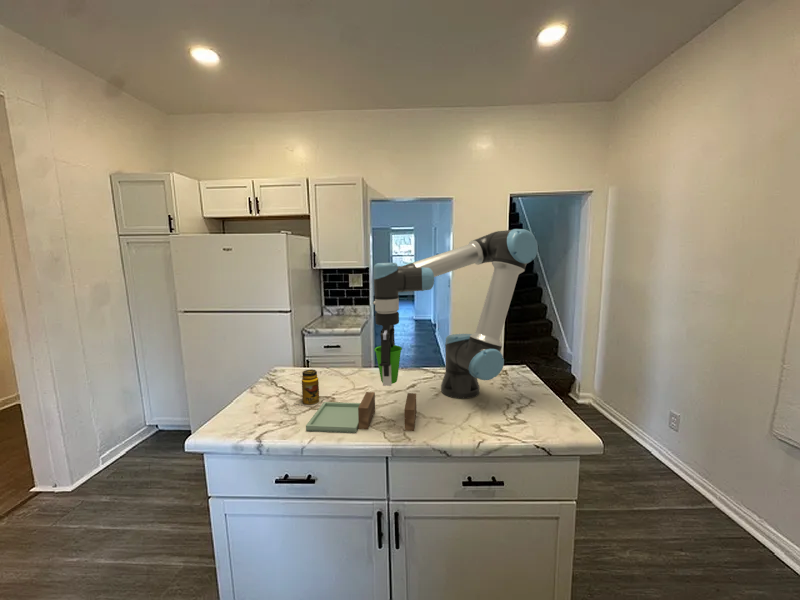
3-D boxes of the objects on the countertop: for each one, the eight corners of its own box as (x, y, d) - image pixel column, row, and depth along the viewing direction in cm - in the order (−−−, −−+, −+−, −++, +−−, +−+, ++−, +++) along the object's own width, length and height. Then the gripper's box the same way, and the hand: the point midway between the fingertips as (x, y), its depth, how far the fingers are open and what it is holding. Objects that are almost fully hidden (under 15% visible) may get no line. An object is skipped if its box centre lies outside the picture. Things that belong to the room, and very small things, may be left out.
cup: (400, 387, 110) (399, 352, 109) (372, 385, 112) (370, 352, 110) (405, 377, 119) (404, 345, 117) (379, 375, 121) (378, 344, 119)
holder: (416, 412, 122) (416, 393, 122) (414, 431, 110) (414, 409, 109) (366, 411, 124) (366, 392, 123) (358, 429, 111) (358, 408, 111)
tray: (367, 408, 127) (367, 403, 127) (356, 433, 109) (356, 427, 109) (324, 406, 128) (323, 401, 128) (306, 431, 111) (305, 425, 110)
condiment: (314, 407, 128) (312, 375, 127) (293, 404, 131) (292, 373, 129) (324, 399, 135) (322, 368, 134) (304, 396, 138) (303, 367, 136)
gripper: (380, 306, 123) (382, 368, 126) (368, 318, 102) (371, 392, 105) (402, 306, 123) (403, 368, 126) (394, 317, 101) (397, 393, 104)
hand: (389, 379), depth 115 cm, fingers closed on cup, 9 cm apart
